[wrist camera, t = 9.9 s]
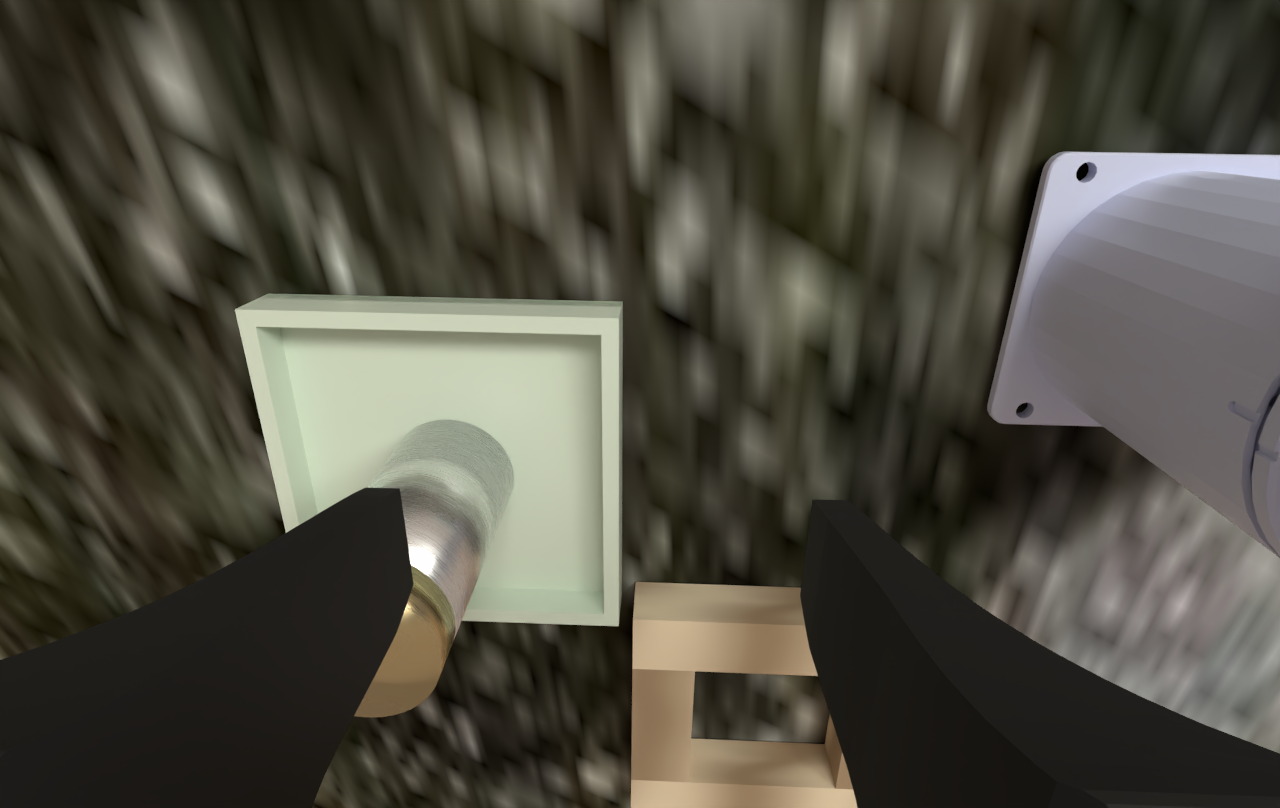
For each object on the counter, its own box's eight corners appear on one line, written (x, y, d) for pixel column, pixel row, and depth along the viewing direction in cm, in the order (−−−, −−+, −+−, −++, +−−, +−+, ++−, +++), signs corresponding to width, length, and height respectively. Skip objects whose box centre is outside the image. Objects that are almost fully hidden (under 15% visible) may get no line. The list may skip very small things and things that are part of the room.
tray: (622, 301, 21) (619, 318, 19) (621, 592, 25) (618, 626, 24) (268, 293, 21) (234, 309, 20) (328, 582, 26) (304, 614, 24)
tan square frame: (911, 591, 25) (930, 629, 23) (871, 784, 29) (884, 830, 27) (635, 581, 25) (632, 619, 23) (633, 773, 29) (630, 818, 27)
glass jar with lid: (528, 442, 22) (457, 617, 15) (497, 537, 24) (421, 735, 17) (407, 403, 22) (275, 562, 15) (384, 502, 23) (255, 689, 16)
